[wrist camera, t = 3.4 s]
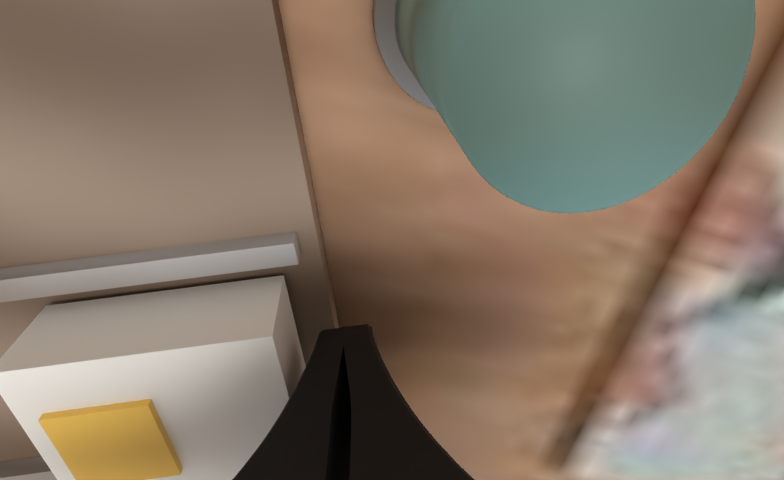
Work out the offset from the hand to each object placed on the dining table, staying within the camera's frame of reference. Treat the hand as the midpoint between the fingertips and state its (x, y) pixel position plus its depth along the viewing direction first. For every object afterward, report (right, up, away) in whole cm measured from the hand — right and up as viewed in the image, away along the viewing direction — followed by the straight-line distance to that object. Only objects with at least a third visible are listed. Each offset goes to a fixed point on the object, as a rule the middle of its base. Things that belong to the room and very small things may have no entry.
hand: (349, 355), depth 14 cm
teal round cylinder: (+3, +8, -2) cm, 9 cm away
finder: (-4, 0, +1) cm, 4 cm away
